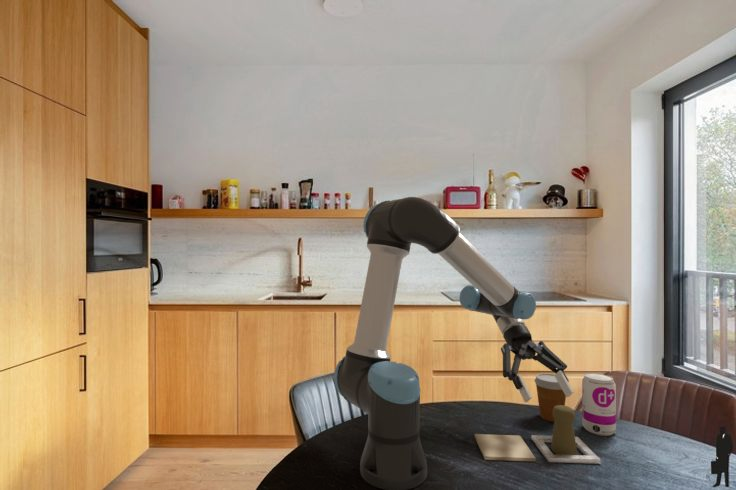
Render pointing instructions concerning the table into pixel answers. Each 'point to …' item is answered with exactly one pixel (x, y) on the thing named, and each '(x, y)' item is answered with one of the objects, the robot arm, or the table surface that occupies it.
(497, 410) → the table surface
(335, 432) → the table surface
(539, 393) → the disposable coffee cup
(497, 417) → the table surface
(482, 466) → the table surface
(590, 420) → the supplement can
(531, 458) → the birch board
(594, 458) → the shaker dock
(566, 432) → the cork
